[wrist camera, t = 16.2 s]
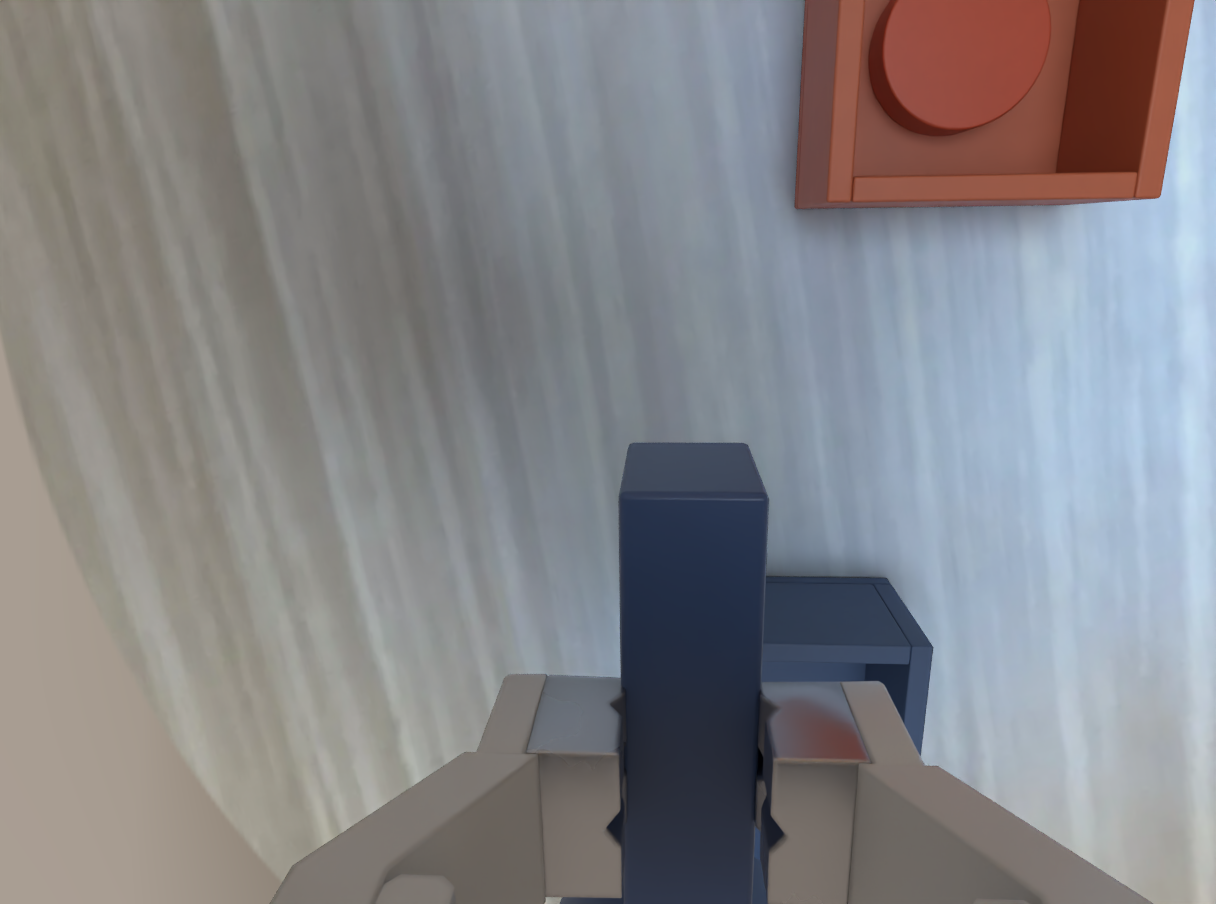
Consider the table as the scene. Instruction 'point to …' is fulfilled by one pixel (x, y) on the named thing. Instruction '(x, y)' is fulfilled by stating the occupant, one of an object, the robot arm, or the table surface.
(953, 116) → the red spoon
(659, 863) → the blue spoon
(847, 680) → the blue bin
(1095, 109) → the red bin
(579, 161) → the table surface
